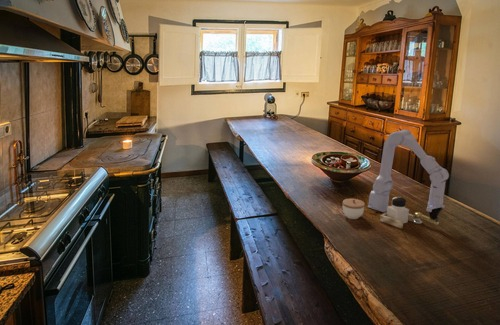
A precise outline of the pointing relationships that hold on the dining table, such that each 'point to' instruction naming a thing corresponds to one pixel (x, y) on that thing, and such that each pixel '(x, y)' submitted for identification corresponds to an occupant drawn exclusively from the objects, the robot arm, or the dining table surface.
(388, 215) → the medicine bottle
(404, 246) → the dining table surface
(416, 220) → the pivot post
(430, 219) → the brass drawer handle
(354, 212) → the lidded jar
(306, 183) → the dining table surface
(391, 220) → the cradle
